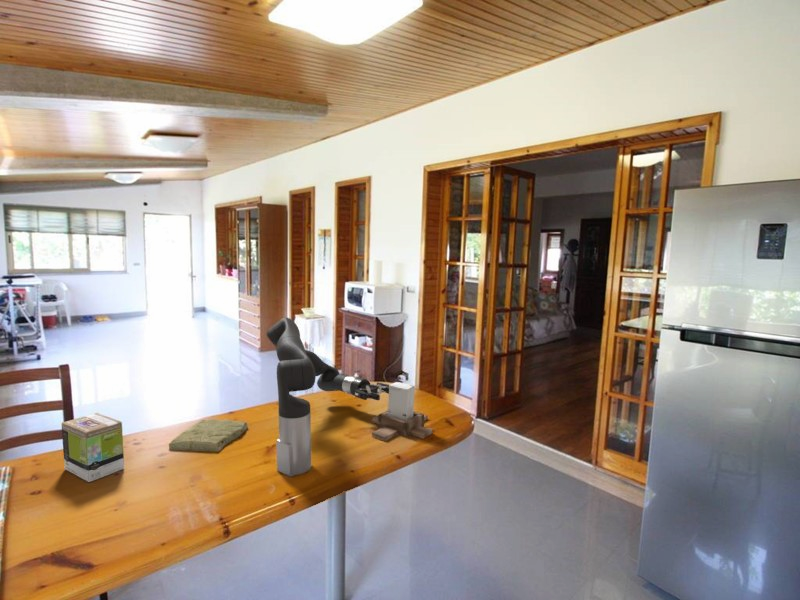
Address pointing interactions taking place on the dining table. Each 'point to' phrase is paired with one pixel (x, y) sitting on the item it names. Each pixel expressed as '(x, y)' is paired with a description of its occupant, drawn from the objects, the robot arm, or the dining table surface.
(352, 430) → the dining table surface
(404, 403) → the skincare box
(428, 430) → the cross stand
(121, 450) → the tea box
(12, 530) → the dining table surface
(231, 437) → the decorative tile
